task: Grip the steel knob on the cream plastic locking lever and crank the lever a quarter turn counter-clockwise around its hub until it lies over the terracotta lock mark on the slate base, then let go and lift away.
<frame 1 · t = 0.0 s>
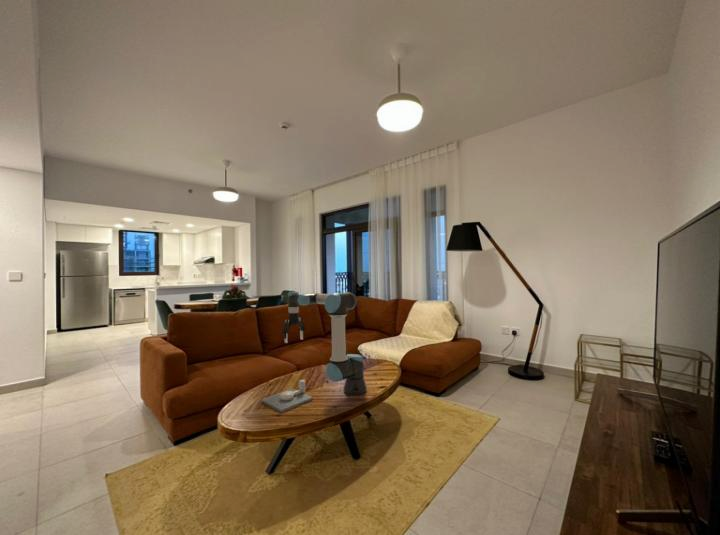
hand: (294, 341, 212), 28 cm above the table, fingers open, 13 cm apart
locking lever: (293, 389, 177), point 5 cm above the table, hinge at 0.0°
lock base: (287, 400, 174), on the table
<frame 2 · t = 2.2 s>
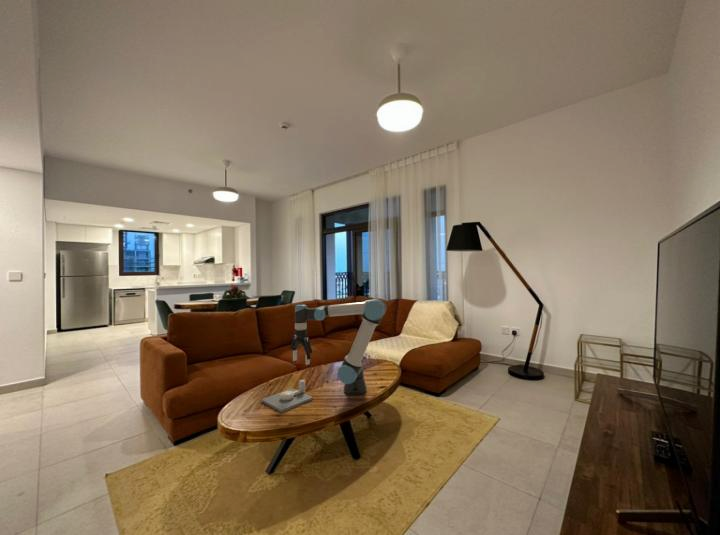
hand: (301, 362, 182), 21 cm above the table, fingers open, 13 cm apart
nothing on the table moved.
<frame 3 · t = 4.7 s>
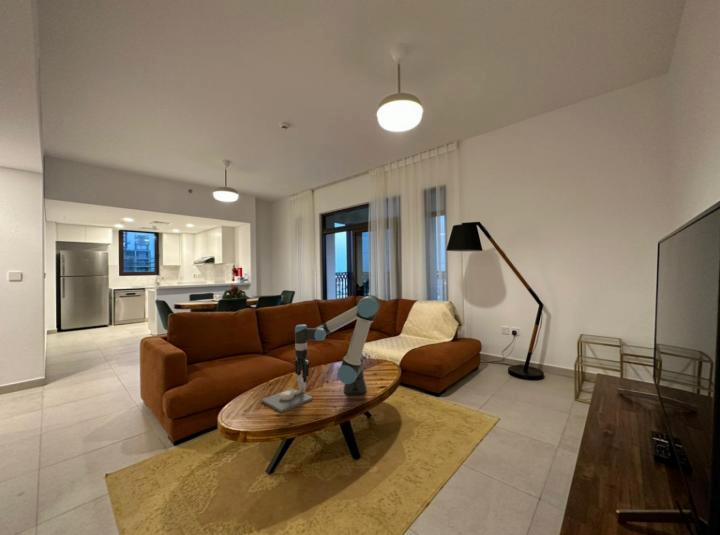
hand: (302, 385, 182), 6 cm above the table, fingers closed on locking lever, 4 cm apart
locking lever: (293, 389, 177), point 5 cm above the table, hinge at 0.0°, touching gripper
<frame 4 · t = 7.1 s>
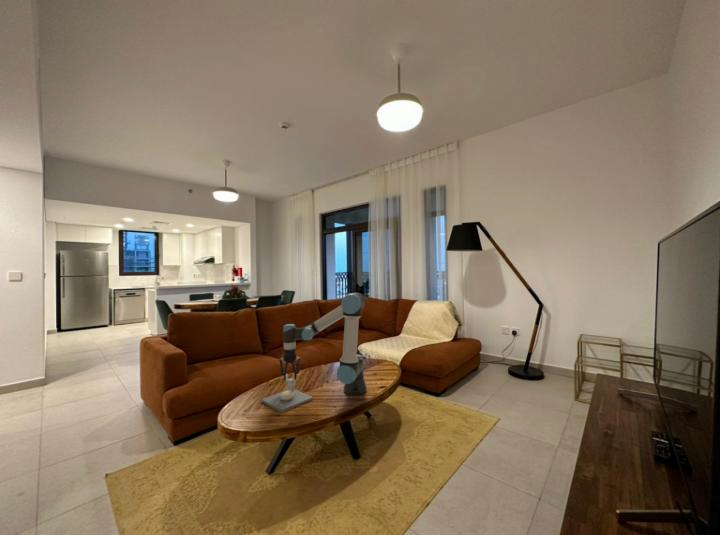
hand: (290, 384, 185), 6 cm above the table, fingers closed on locking lever, 4 cm apart
locking lever: (288, 389, 178), point 5 cm above the table, hinge at 45.8°, touching gripper
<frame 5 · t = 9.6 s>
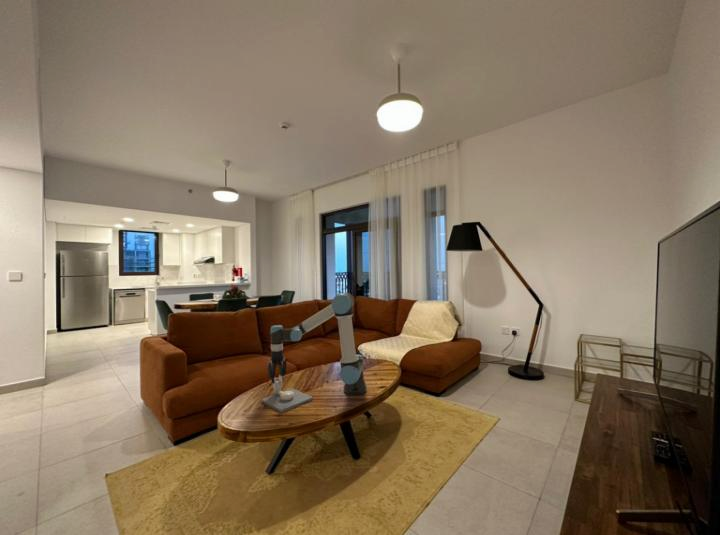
hand: (277, 386, 181), 6 cm above the table, fingers closed on locking lever, 4 cm apart
locking lever: (283, 390, 177), point 5 cm above the table, hinge at 89.5°, touching gripper
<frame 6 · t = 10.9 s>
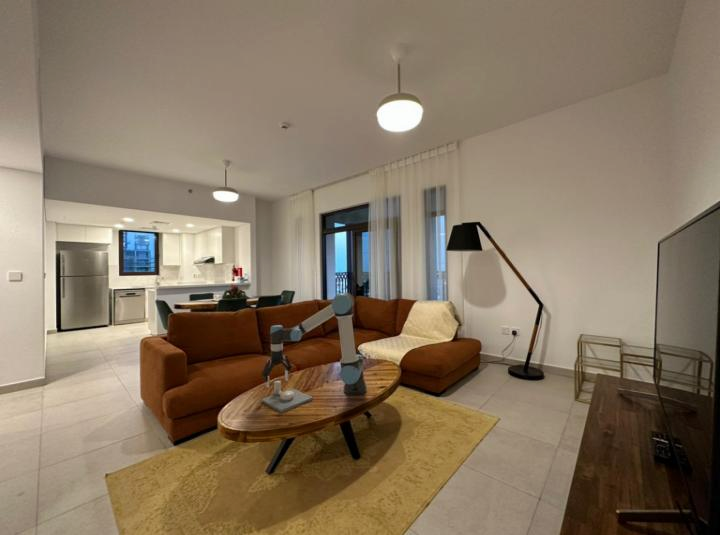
hand: (277, 383, 181), 8 cm above the table, fingers open, 13 cm apart
locking lever: (283, 390, 177), point 5 cm above the table, hinge at 89.5°
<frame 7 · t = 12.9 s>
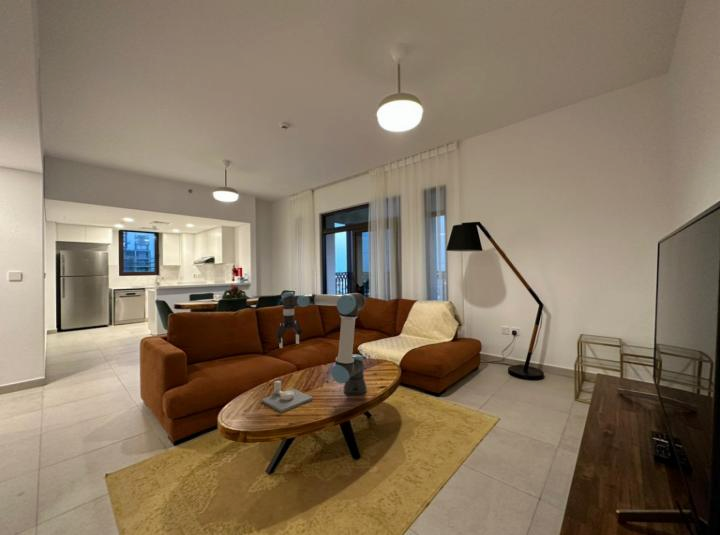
hand: (289, 345, 197), 28 cm above the table, fingers open, 13 cm apart
nothing on the table moved.
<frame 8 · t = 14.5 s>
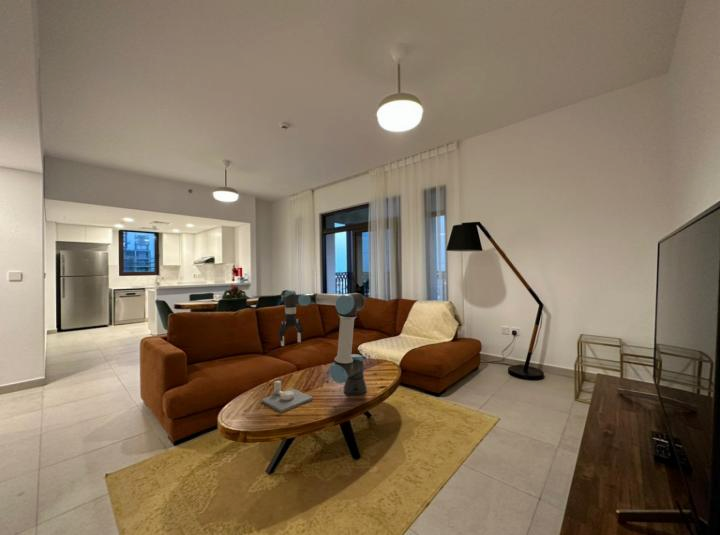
hand: (291, 343, 199), 29 cm above the table, fingers open, 13 cm apart
nothing on the table moved.
at the end: locking lever at +90° (first picture: +0°); the gripper is holding nothing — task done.
